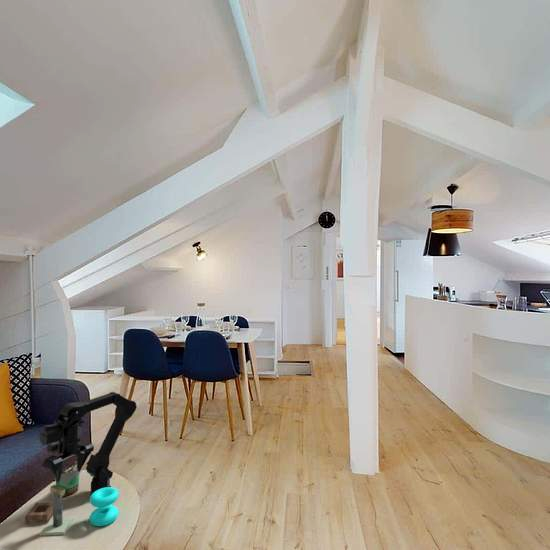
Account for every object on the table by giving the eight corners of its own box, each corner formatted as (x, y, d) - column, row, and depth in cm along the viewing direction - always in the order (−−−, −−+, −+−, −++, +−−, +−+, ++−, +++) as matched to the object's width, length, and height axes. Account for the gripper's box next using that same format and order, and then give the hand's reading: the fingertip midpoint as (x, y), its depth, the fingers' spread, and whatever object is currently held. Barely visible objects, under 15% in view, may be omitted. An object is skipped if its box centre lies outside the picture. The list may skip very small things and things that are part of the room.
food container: (67, 501, 156) (67, 477, 156) (54, 499, 157) (54, 475, 157) (87, 485, 168) (88, 462, 168) (75, 483, 169) (75, 461, 169)
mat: (73, 520, 144) (73, 517, 144) (63, 534, 136) (63, 531, 136) (51, 521, 144) (51, 518, 144) (40, 535, 136) (40, 532, 136)
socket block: (57, 509, 151) (57, 502, 151) (47, 522, 143) (47, 514, 143) (36, 510, 150) (36, 502, 150) (24, 523, 142) (24, 515, 142)
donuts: (114, 499, 141) (85, 501, 140) (113, 527, 141) (85, 528, 140) (122, 485, 151) (95, 486, 150) (121, 510, 151) (95, 511, 150)
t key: (48, 524, 140) (48, 487, 140) (56, 519, 143) (56, 483, 142) (59, 529, 137) (59, 492, 137) (67, 524, 140) (66, 488, 140)
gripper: (76, 425, 164) (74, 462, 164) (33, 441, 147) (32, 482, 147) (95, 430, 160) (93, 468, 160) (53, 447, 143) (52, 489, 143)
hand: (68, 476), depth 152 cm, fingers open, 9 cm apart
